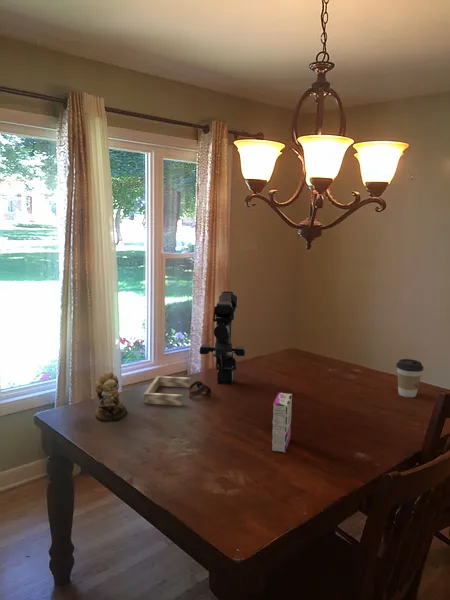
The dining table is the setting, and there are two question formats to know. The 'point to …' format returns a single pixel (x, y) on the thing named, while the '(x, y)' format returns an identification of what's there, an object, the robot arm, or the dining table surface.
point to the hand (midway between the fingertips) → (222, 370)
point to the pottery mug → (199, 388)
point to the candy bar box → (281, 422)
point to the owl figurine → (109, 399)
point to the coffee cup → (408, 376)
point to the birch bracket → (165, 399)
